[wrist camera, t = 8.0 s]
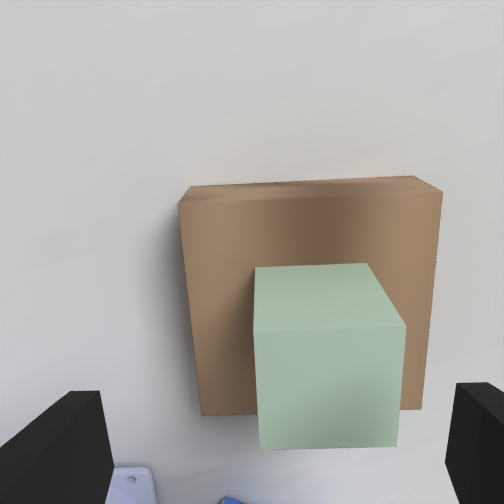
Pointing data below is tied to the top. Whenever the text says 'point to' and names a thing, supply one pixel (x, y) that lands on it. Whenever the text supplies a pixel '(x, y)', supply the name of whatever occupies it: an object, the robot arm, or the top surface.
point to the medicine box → (230, 501)
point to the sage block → (326, 358)
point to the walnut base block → (298, 254)
